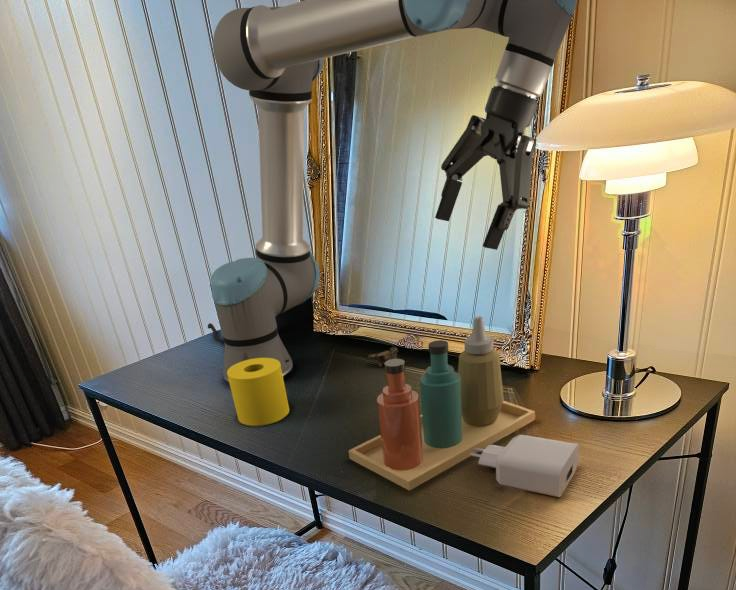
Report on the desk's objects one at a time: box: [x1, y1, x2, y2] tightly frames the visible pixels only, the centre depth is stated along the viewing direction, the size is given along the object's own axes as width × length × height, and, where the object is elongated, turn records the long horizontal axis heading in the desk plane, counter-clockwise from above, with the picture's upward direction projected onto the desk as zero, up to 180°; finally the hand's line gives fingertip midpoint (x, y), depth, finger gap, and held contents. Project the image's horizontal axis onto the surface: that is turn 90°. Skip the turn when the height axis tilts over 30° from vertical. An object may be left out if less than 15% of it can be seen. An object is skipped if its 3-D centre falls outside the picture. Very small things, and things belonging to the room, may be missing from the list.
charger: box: [470, 434, 580, 498], centre depth 97 cm, size 5×9×15 cm
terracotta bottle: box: [376, 358, 423, 470], centre depth 100 cm, size 6×6×17 cm
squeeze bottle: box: [457, 316, 505, 426], centre depth 108 cm, size 8×8×18 cm
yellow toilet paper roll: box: [227, 358, 290, 427], centre depth 124 cm, size 10×10×9 cm
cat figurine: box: [366, 345, 399, 368], centre depth 139 cm, size 3×8×4 cm, turn 60°
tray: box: [348, 400, 536, 491], centre depth 109 cm, size 15×29×2 cm, turn 129°
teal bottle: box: [419, 339, 462, 448], centre depth 104 cm, size 6×6×17 cm
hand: (464, 233), depth 110 cm, fingers open, 13 cm apart
